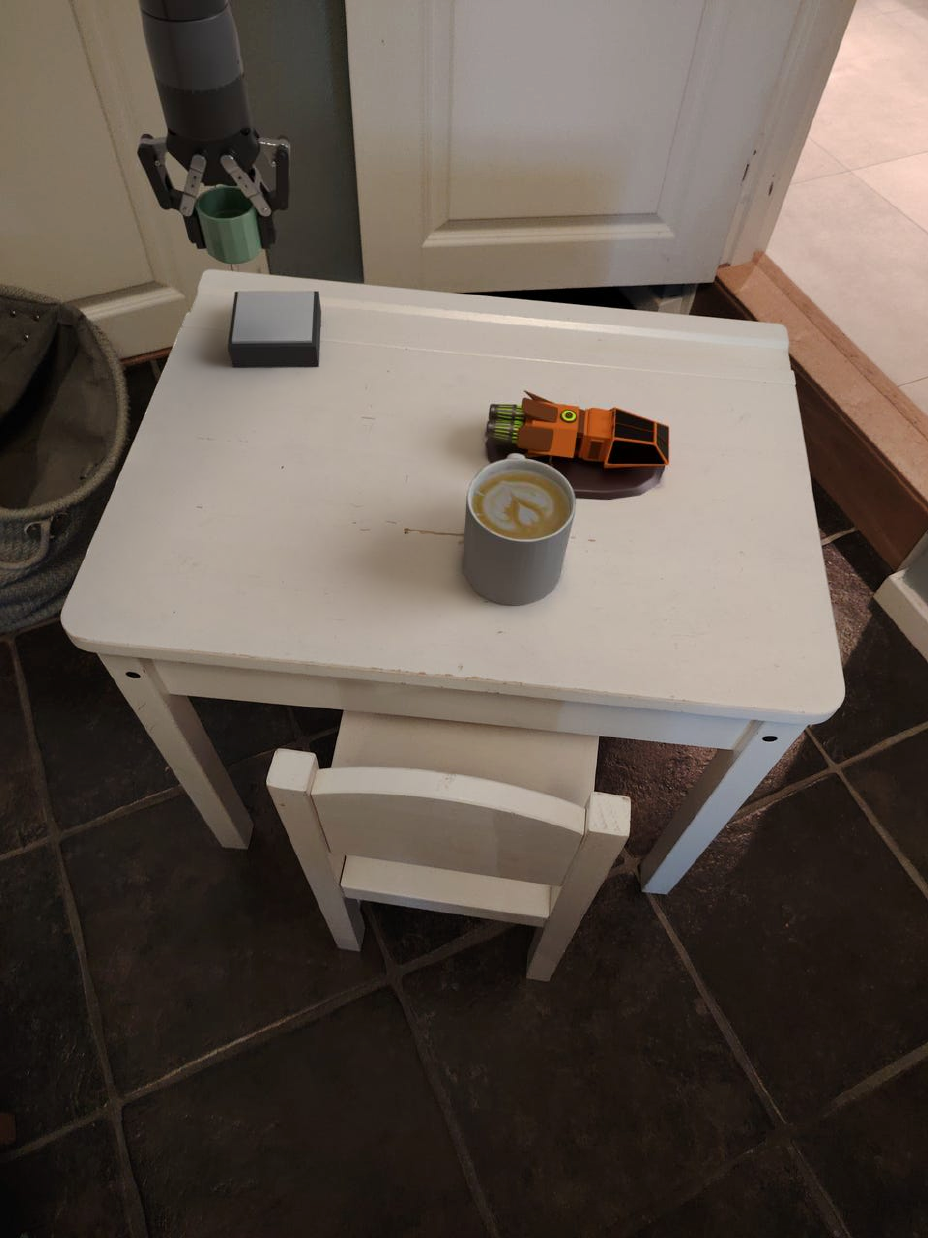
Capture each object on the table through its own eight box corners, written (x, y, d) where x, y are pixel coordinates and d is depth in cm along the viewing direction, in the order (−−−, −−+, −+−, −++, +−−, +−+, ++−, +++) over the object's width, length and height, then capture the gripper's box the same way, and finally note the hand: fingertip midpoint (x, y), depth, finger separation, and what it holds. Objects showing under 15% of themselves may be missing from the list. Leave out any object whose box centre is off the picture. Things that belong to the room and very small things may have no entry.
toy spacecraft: (665, 510, 88) (681, 467, 83) (478, 485, 89) (481, 441, 84) (665, 426, 95) (680, 382, 90) (491, 404, 96) (496, 359, 90)
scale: (232, 367, 97) (226, 343, 95) (239, 312, 103) (234, 288, 100) (318, 366, 98) (315, 343, 95) (321, 312, 103) (318, 288, 101)
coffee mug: (553, 614, 81) (569, 551, 72) (453, 595, 81) (456, 530, 73) (571, 510, 88) (587, 441, 79) (478, 493, 89) (484, 424, 80)
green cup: (203, 266, 84) (191, 220, 80) (209, 231, 87) (198, 185, 83) (263, 266, 84) (254, 220, 80) (267, 231, 87) (259, 185, 83)
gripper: (102, 84, 68) (158, 267, 83) (280, 86, 69) (304, 267, 84) (117, 41, 72) (168, 222, 87) (285, 43, 73) (308, 223, 88)
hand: (235, 243), depth 85 cm, fingers closed on green cup, 6 cm apart
